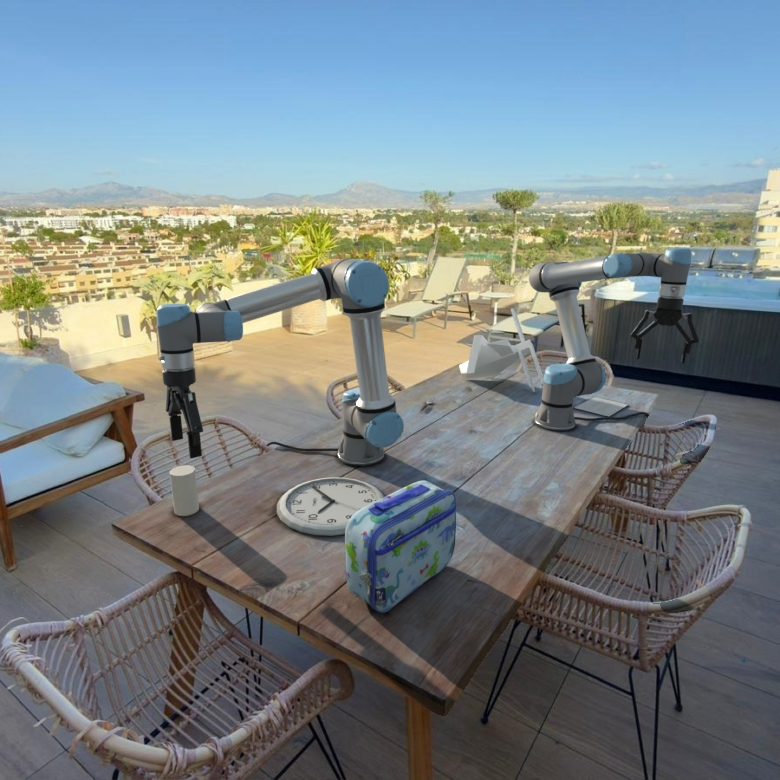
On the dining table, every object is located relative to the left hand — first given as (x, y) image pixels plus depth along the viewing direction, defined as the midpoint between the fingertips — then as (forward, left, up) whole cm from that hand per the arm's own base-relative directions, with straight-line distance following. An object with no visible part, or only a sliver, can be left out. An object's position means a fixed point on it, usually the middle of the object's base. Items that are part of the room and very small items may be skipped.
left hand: (186, 448), depth 134 cm
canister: (-1, -1, -18) cm, 18 cm away
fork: (+31, +106, -18) cm, 112 cm away
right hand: (+116, +98, +13) cm, 152 cm away
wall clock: (+33, +17, -18) cm, 41 cm away
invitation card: (+101, +137, -18) cm, 171 cm away
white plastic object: (+54, +149, -18) cm, 160 cm away
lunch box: (+62, -7, -18) cm, 65 cm away
